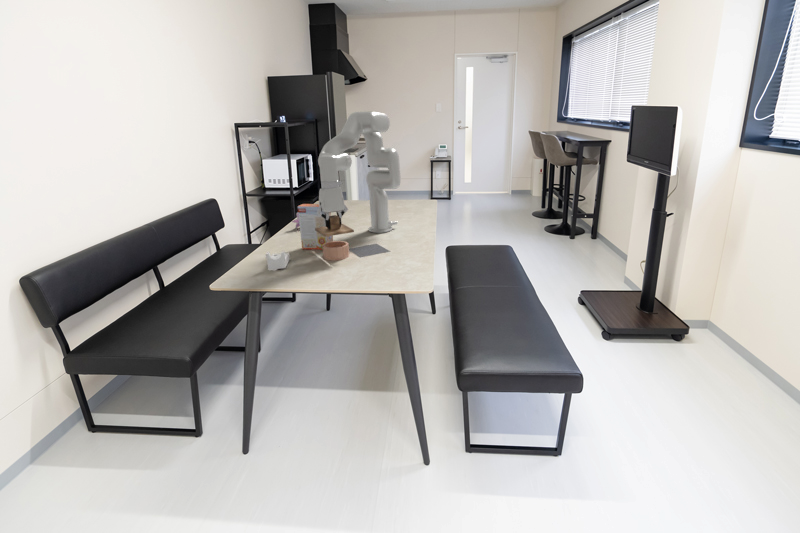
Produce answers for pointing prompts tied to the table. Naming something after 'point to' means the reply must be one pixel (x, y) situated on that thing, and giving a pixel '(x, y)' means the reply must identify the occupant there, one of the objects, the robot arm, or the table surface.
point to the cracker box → (311, 227)
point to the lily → (297, 221)
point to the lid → (334, 227)
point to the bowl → (336, 250)
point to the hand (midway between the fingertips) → (333, 227)
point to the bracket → (277, 260)
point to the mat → (368, 250)
